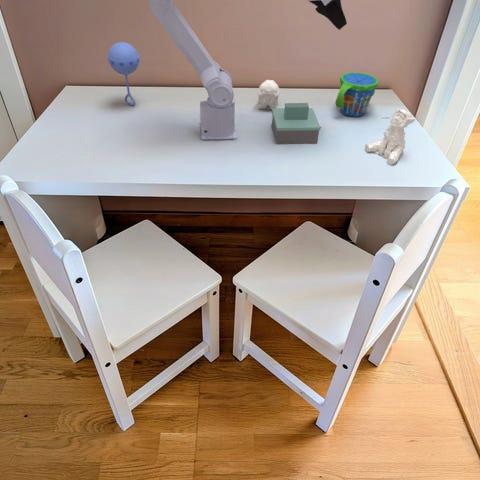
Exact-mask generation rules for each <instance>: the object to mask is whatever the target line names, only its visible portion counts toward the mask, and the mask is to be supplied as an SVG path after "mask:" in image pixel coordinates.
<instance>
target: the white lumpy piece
mask: <svg viewBox="0 0 480 480" xmlns="http://www.w3.org/2000/svg"><path fill="white" fill-rule="evenodd" d="M257 95H258V100H257V102H258V103H259V104H258V107H257V108H258V109H260V110H261V109H262V110H264V109H266V108H267V107H268V108H269V109H270V110H272V108H278V106H277V105H278V104H279V96H280V86H279V85H278V84H277V83H276V82H275V80H273V79H266V80H264V81H263V82H262V83H261V84H260V85H259V87H258V92H257ZM276 104H277V105H276Z"/></svg>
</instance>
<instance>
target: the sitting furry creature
mask: <svg viewBox="0 0 480 480" xmlns="http://www.w3.org/2000/svg"><path fill="white" fill-rule="evenodd" d="M393 113H394V114H392V115H391V120H390V124H391V125H389V126H388V127H387V129H385V131H384V132H383V136H384V137H383V139H382V140H377V141H372V142H369V143H366V144H365V145H364V150H365V152H366V153H374V154H377V155H379V156H381V157H383V158H384V159H385V160H387V164H388V165H390V166H392V165H395V164H396V163H397V161H398V160H399V159H400V157H401V155H402V153H403V152H404V149H405V148H406V145H405V144H406V140H405V135H406V131H405V129H404V128H408V126H409V125H411V124H413V123H414V122H415V121H416V118H412V114H411V112H409V111H407V110H406V109H403V108H399V107H397V109H396V111H394V112H393Z"/></svg>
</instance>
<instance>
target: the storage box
mask: <svg viewBox="0 0 480 480" xmlns="http://www.w3.org/2000/svg"><path fill="white" fill-rule="evenodd" d="M271 126H272V127H271V128H272V131H273V136H274V139H275V144H276V145H302V144H306V145H307V144H311V145H312V144H313V145H315V144H318V140H319V133H320V130H298V131H277V129H276V125H275V121H274V117H273V114H272V116H271Z"/></svg>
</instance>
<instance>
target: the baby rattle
mask: <svg viewBox="0 0 480 480" xmlns="http://www.w3.org/2000/svg"><path fill="white" fill-rule="evenodd" d="M107 61H108V64H109V65H110V67H111V68H112V69H113V70H114V72H116V73H118V74H120V75H123V76H124V78H125V84H126V90H127V93H126V95H125V97H124V102H125V104H126V105H130V106H131V107H135V106H136V100H135V98H134V97H133V96H132V94H131V93H130V86H129V78H128V75H131V74H132V73H134V72H135V71H136V70H137V69H138V67H139V64H140V54H139V53H138V52H137V49H136V48H135V47H134V46H133V45H132V44H130V43H128V42H123V41H120V42H115V44H112V45H111V47H110V49H109V50H108V54H107ZM128 98H130V99H131V101H132V102H131V101H128V100H127V99H128Z"/></svg>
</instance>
